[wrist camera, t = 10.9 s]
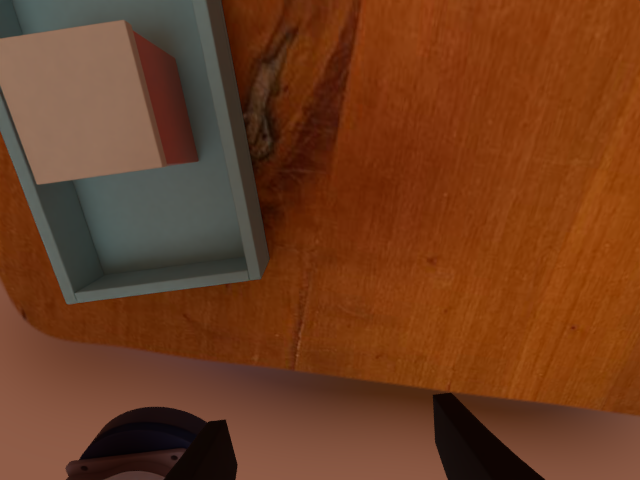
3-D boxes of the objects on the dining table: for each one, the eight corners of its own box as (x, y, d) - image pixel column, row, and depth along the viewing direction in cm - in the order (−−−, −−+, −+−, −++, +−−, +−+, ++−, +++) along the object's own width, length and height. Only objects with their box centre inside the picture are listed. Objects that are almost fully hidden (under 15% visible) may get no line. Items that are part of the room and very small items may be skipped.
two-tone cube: (106, 176, 17) (36, 184, 13) (74, 70, 16) (-17, 40, 12) (201, 163, 17) (162, 167, 13) (177, 55, 16) (124, 19, 11)
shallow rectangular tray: (104, 281, 19) (66, 305, 16) (-11, -59, 15) (-94, -112, 12) (269, 259, 19) (261, 279, 16) (204, -93, 15) (175, -156, 12)
